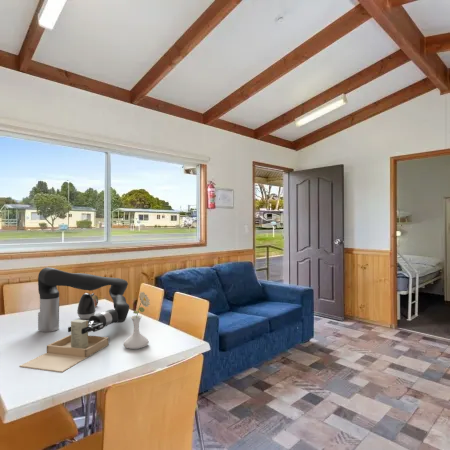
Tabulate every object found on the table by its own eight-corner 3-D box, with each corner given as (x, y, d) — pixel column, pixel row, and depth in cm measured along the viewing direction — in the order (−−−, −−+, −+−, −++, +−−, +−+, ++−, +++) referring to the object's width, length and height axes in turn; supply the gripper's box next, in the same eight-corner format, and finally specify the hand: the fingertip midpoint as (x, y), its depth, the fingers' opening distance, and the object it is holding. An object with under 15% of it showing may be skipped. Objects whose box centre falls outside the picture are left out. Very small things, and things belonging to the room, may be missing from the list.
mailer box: (19, 366, 131) (19, 357, 131) (72, 341, 160) (72, 333, 160) (62, 372, 126) (62, 363, 126) (108, 344, 155) (108, 337, 155)
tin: (85, 311, 215) (85, 298, 215) (81, 311, 216) (81, 298, 216) (98, 305, 230) (98, 293, 230) (94, 305, 230) (94, 293, 230)
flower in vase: (135, 353, 145) (135, 296, 145) (118, 348, 151) (118, 293, 151) (156, 344, 156) (156, 291, 156) (139, 339, 162) (139, 288, 162)
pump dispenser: (99, 317, 201) (99, 292, 201) (84, 321, 192) (84, 295, 192) (88, 315, 206) (89, 290, 206) (73, 318, 198) (73, 293, 198)
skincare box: (88, 347, 150) (89, 320, 151) (81, 350, 146) (82, 322, 147) (77, 345, 153) (77, 318, 153) (69, 348, 149) (70, 321, 149)
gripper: (112, 329, 161) (88, 341, 145) (88, 326, 165) (62, 337, 150) (112, 314, 161) (88, 324, 145) (88, 311, 165) (62, 320, 150)
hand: (75, 330), depth 147 cm, fingers open, 7 cm apart
